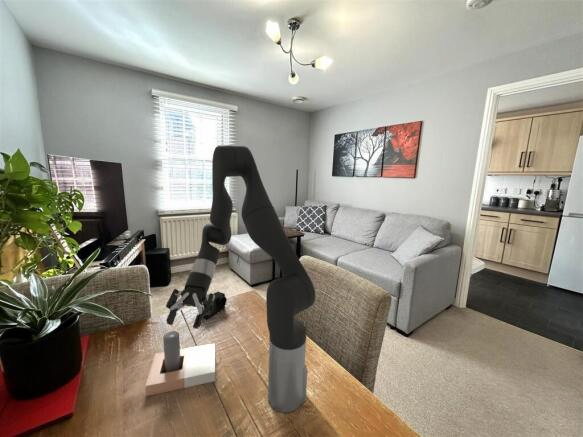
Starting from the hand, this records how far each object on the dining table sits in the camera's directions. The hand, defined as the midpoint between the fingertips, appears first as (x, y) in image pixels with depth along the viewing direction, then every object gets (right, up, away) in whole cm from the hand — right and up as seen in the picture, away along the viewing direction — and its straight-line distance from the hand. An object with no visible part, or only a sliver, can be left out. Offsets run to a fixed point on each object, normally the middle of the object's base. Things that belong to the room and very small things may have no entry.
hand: (182, 326), depth 73 cm
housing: (+2, -12, -2) cm, 12 cm away
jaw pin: (-1, -12, -3) cm, 13 cm away
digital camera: (0, -7, +28) cm, 29 cm away
